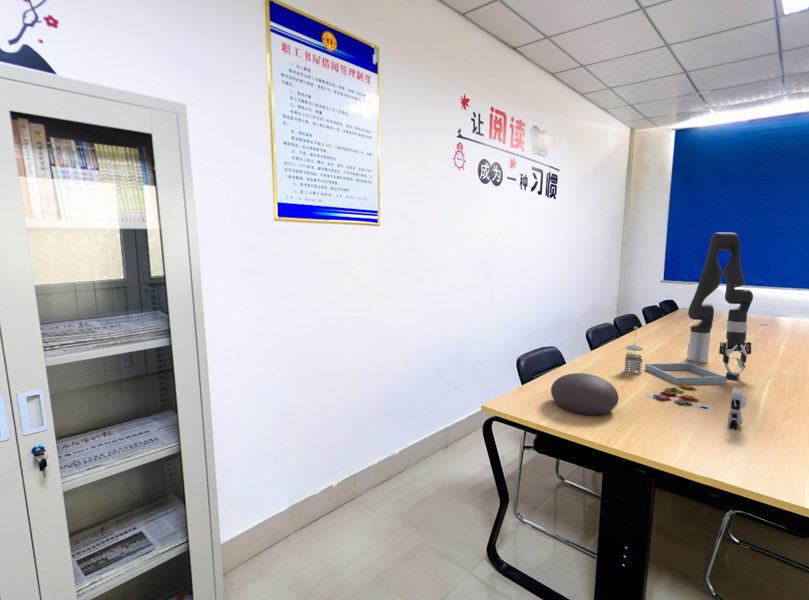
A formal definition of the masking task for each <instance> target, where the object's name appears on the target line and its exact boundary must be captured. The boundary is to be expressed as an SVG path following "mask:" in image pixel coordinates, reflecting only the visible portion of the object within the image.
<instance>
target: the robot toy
mask: <svg viewBox="0 0 809 600" xmlns="http://www.w3.org/2000/svg"><path fill="white" fill-rule="evenodd" d="M733 386H734V388H732V389H731V395H730V396H731V397H730V404H729V410H728V417H727V424H728V425H729V428H730V429H731V431H735V430H737V429H738V428H739V427H740V426H741V425H743V421H744V420H743V417H742V415H743V413H742V409H743V408H745V407H746V406H747V400H748V398H747V396H746V395H745V394H744V391H743V389H741V388H737V386H736V385H733Z"/></svg>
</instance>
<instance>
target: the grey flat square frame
mask: <svg viewBox="0 0 809 600" xmlns="http://www.w3.org/2000/svg"><path fill="white" fill-rule="evenodd" d="M644 370H645V371H647V370H648V371H647V372H649V371H650V373H651V372H652V373H651V374H653V373H654V375H656V376H658V377H660V378H662V379H665V380H667V381H668V380H669V382H670V383H673V384H674V385H675V384H676V385H726V384H727V378H726V375H722V374H720V373H717V372H714V371H711V370H709V369H706V368H704V367H702V366H700V365H696V364H694V363H691V362H676V363H675V362H674V363H673V362H671V363H670V362H669V363H666V362H665V363H661V362H660V363H659V362H658V363H645V364H644ZM666 371H690V372H693V373H695V374H698V375H700V376H681V377H679V376H675V375H673V374H670V373H669V372H666Z"/></svg>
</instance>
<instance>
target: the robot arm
mask: <svg viewBox="0 0 809 600" xmlns="http://www.w3.org/2000/svg"><path fill="white" fill-rule="evenodd" d="M720 251H724V252H726V251H727V252H728V251H729V254H730V258H729V259H728V262H727V263H726V265H725V266H724V270H723V269H722V268H721V265H720V263H719V261H718V259H719V258H718V255H719V252H720ZM741 258H742V257H741V241H740V237H739V235H738V234H737V233H736V232H721V231H720V232H715V233H713V234H712V236H711V239H710V241H709V244H708V250H707V255H706V259H705V262H704V265H703V269H702V271H701V274H700V276H699V277H700V278H699V280H698V284H697V287H696V289H695V290H696V291H695V293H694V295H693V298H692V300H691V302H690V305H689V307H688V317H689V318H690V319H691V320H696V321H700V322H698V323H696V324H693V325H691V326H690V334H689V342H688V343H687V344H688V346H687V357H686V359H687V360H688V361H690V362H694V363H701V364H702V363H704V364H706V363H708V362H709V356H710V355H709V353H710V351H709V350H710V343H711V342H710V340H711V332H712V329H713V323H714V314H715V310H714V306H713V305H712V304H711V303H704V301H705V300H706V299H707V298H708V297H709V296H710V295H711V294H712V293H713V292H714V291H716V290H717V289H718V288H719V287H720V284H721V282H722V279H723V275H724V279H725V285H726V286H725V294H724V300H725V302H727V303H728V304H731V305H739V306H738V307H736V308H731V309H729V310H728V316H727V317H728V318H727V323H726V338H725V339H726V340H727V341H726V342H725V341H724V342H723V341H721V342H720V343H719V350H718V351H719V352H718V354H719V355H722V356H723V357H722V362H723V363H724V364H725V363H726V364H728V365H729V363H730V359H729V358H730V356H729V355H730V354H732V353H733V352H739V353H740V359H742V360H743V362H744V364H746V362H747V356H748V355H752V342H751V341H746V340H747V331H748V330H747V329H748V325H747V324H748V323H747V319H748V318H747V317H748V313H749V310H750V307H751V304H752V302H753V299H754V294H753V292H752V291H751V290H750V289H745V288H744V289H740V287H742V286H744V285H745V278H744V274H743V269H742V263H741V261H742V260H741ZM738 287H739V289H736V288H738Z"/></svg>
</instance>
